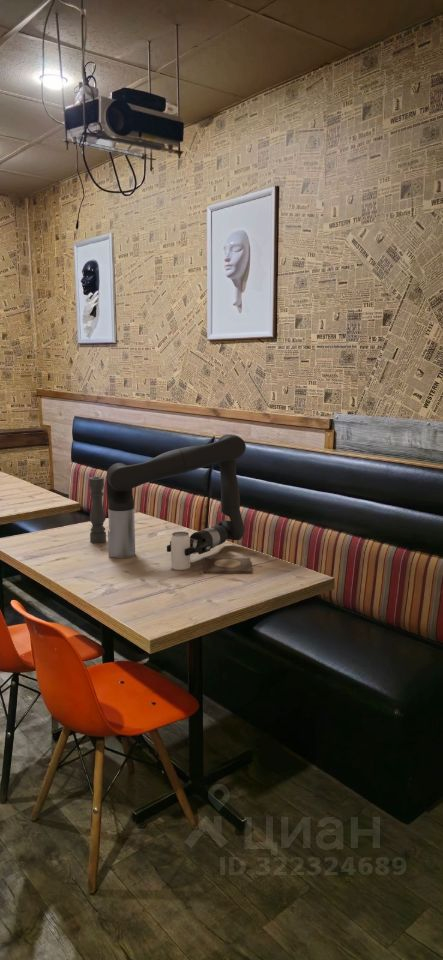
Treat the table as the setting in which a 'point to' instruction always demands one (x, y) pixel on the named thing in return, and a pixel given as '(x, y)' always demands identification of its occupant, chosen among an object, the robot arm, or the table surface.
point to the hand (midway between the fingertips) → (176, 550)
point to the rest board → (227, 565)
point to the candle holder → (97, 510)
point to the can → (180, 551)
